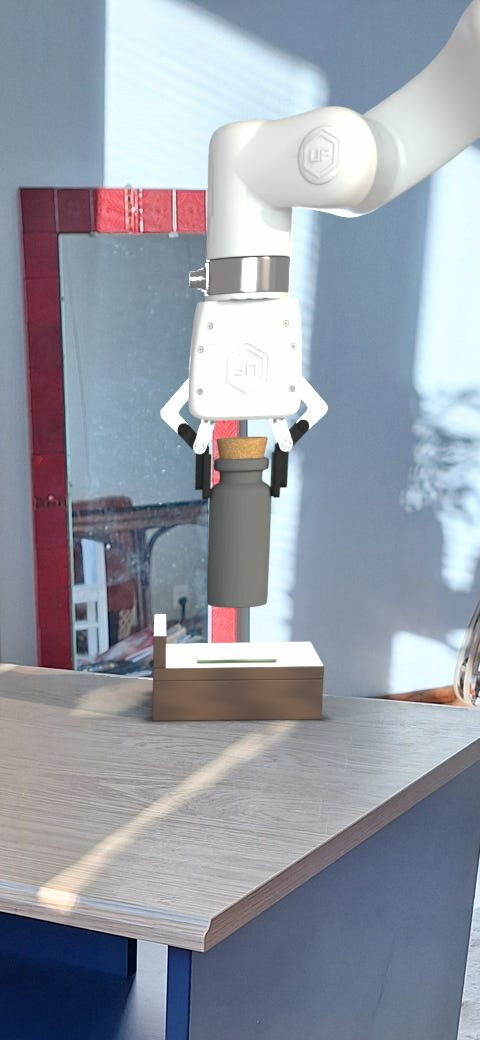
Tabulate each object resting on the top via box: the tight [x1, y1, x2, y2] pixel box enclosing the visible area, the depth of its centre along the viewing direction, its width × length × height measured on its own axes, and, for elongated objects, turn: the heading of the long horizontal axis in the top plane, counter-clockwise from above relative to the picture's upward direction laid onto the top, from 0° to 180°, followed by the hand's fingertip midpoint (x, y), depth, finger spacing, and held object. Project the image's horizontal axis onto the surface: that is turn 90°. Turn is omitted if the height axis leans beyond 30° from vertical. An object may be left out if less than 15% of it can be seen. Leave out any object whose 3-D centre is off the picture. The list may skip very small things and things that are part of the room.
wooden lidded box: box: [152, 613, 325, 722], centre depth 145 cm, size 16×14×8 cm
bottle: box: [206, 436, 272, 609], centre depth 140 cm, size 6×6×15 cm
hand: (240, 495), depth 139 cm, fingers closed on bottle, 5 cm apart
